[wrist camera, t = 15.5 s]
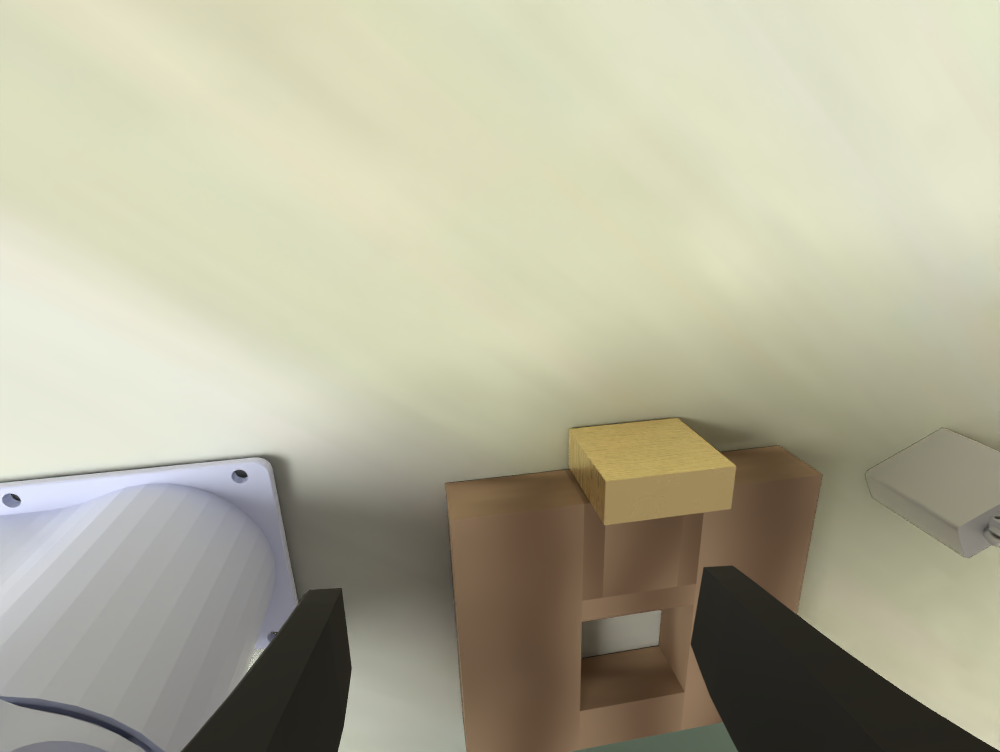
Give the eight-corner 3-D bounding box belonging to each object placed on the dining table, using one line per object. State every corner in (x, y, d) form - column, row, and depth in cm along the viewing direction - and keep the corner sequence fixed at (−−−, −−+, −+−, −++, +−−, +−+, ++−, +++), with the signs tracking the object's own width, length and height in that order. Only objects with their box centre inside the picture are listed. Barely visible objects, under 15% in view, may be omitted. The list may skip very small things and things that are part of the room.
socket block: (462, 715, 24) (468, 771, 22) (445, 483, 20) (450, 520, 18) (745, 665, 26) (778, 711, 24) (779, 445, 23) (822, 474, 20)
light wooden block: (567, 550, 22) (600, 622, 18) (568, 428, 20) (605, 481, 17) (667, 536, 23) (719, 603, 19) (677, 417, 21) (736, 466, 17)
